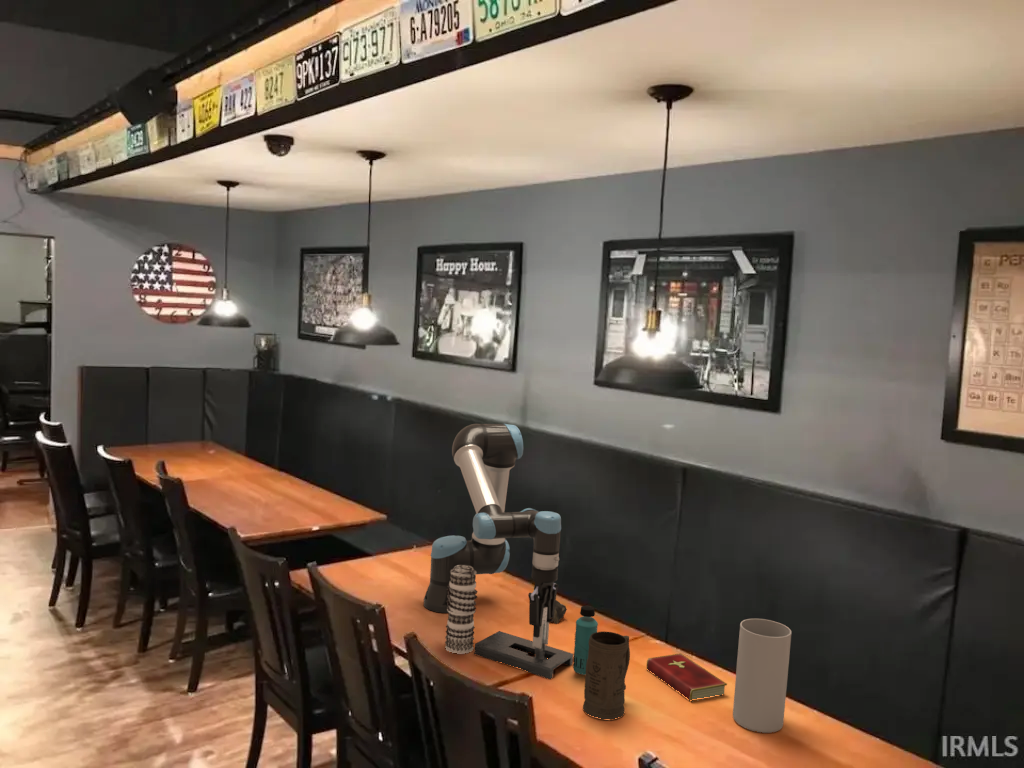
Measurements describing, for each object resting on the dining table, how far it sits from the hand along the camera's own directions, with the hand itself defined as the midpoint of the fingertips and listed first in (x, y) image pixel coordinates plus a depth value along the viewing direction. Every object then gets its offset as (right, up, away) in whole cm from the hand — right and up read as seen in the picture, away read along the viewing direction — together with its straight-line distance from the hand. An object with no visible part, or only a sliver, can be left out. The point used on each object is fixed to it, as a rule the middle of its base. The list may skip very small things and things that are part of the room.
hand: (540, 644), depth 237 cm
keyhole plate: (-5, -5, +3) cm, 8 cm away
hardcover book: (+41, -9, -6) cm, 42 cm away
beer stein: (+17, -9, -24) cm, 30 cm away
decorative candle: (-24, -4, +9) cm, 26 cm away
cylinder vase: (+55, -11, -27) cm, 62 cm away
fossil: (+5, -3, +38) cm, 38 cm away
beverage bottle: (+12, -7, -5) cm, 15 cm away
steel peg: (0, -6, 0) cm, 6 cm away
